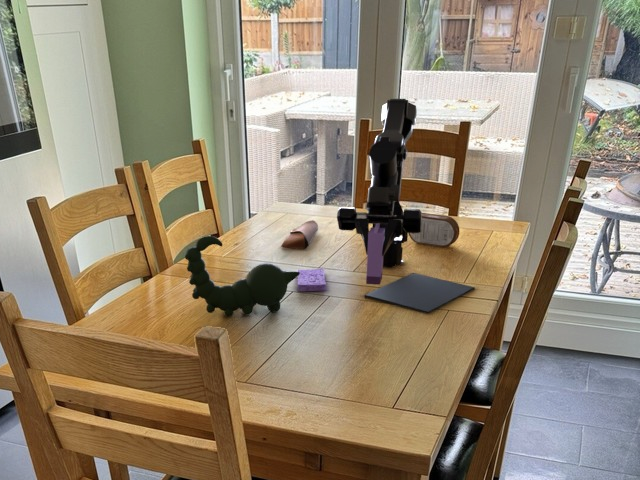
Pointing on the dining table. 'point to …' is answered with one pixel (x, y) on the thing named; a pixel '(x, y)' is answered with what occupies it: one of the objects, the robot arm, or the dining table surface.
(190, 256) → the toy figurine
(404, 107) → the robot arm
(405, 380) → the dining table surface
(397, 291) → the placemat
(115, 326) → the dining table surface
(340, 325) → the dining table surface
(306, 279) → the sponge
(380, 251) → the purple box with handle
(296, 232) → the sunglasses case
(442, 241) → the tin
